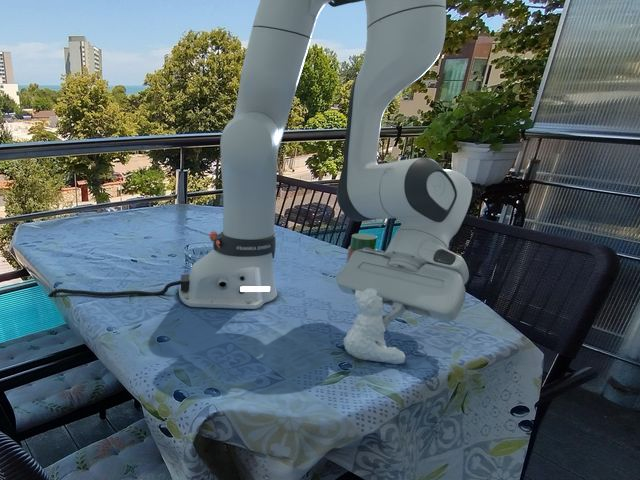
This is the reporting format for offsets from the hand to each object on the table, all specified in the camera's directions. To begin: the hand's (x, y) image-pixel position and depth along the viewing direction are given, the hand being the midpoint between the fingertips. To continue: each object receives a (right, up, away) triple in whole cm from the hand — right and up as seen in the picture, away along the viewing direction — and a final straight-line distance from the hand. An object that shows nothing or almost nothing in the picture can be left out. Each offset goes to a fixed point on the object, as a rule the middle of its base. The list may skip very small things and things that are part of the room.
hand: (377, 325), depth 79 cm
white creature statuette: (-1, -5, +1) cm, 5 cm away
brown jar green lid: (+12, +10, +36) cm, 39 cm away
